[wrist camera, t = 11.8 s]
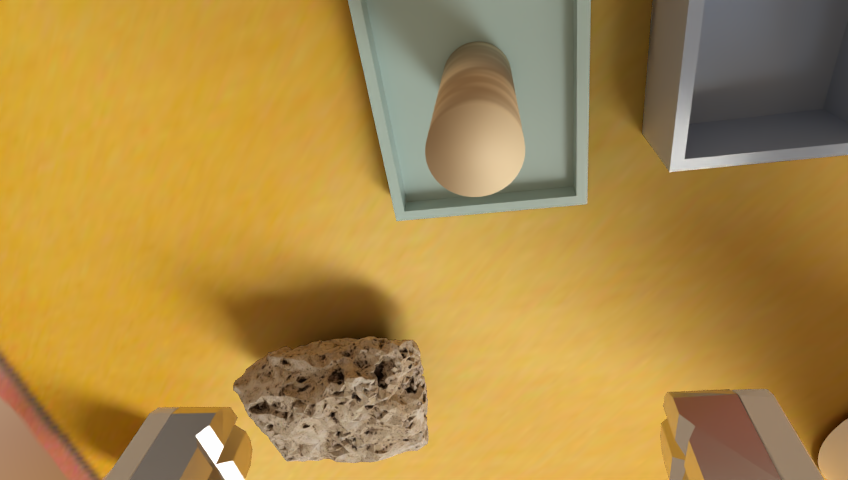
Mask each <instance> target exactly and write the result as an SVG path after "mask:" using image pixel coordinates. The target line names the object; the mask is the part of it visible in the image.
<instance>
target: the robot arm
mask: <svg viewBox="0 0 848 480" xmlns="http://www.w3.org/2000/svg"><path fill="white" fill-rule="evenodd" d="M663 407H664V410H665V413H666V416H667V419H666V420H665V421H663V422H662V423H661V434H660V437H661V448H662V454H663V459H664V463H665V467H666V470H667V473H668V477H669V480H824V478H823V477H822V475H821V473H822V474H823V476H824V477H825V478H826V479H827V480H848V419H846V420H845V421H843V422H842V423H841V424H840V425H839V426H837V427H836V428H835V429H834V430H833V431H832V432H831V433H830V434H829V435H828V437H827V438H826V439H825V441H824V442H823V444H822V446H821V448H820V451H819V455H818V465H819V469H820V471H821V473H820V472H819V470H818V468H817V466H816V465H815V463H814V461H813V460H812V458H811V456H810V455H809V453H808V451H807V450H806V448H805V446H804V445H803V443H802V441H801V440H800V438H799V436H798V435H797V433H796V431H795V430H794V428H793V426H792V425H791V423H790V421H789V420H788V418H787V416H786V415H785V413H784V411H783V410H782V408H781V406H780V405H779V403H778V401H777V400H776V398H775V396H774V395H773V394H772V393H771V392H770V391H769V390H767V389H745V390H729V389H725V390H703V391H681V392H667V394H666V395H665V397H664V405H663ZM237 418H238V417H237V416H236V415H235V413H234V412H233V410H232V409H231V407H165V408H157V409H156V410H154V411H153V412H151V413H150V414H149V415H148V417H147V418H146V420H145V421H144V423H143V424H142V426H141V427H140V429H139V430H138V432H137V433H136V435H135V436H134V437H133V439H132V440H131V442H130V443H129V445H128V446H127V448H126V449H125V451H124V452H123V454H122V455H121V457H120V458H119V460H118V461H117V463H116V464H115V466H114V467H113V468H112V470H111V471H110V473H109V474H108V476H107V477H106V479H105V480H245V478H246V475H247V473H248V470H249V468H250V465H251V457H252V446H251V441H250V438H249V436H248V435H247V433H246V431H244V430H242V429H241V428H239V427H238V426H236V425H235V423H236V420H237Z"/></svg>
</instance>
